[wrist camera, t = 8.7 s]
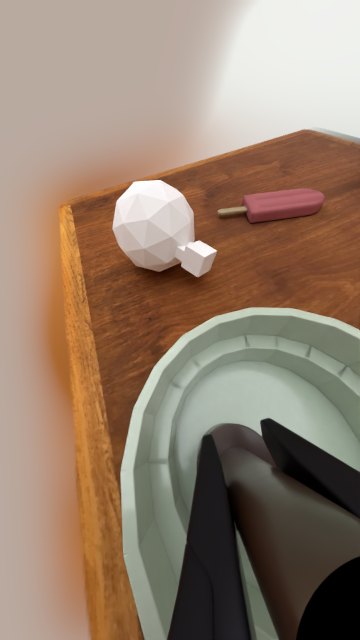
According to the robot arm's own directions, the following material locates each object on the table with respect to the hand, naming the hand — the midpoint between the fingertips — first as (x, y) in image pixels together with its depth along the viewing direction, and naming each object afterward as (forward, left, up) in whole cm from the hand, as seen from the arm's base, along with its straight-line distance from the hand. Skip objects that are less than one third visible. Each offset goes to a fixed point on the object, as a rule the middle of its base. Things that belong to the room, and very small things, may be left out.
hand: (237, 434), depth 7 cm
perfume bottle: (+19, +1, -7) cm, 20 cm away
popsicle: (+26, -16, -7) cm, 31 cm away
